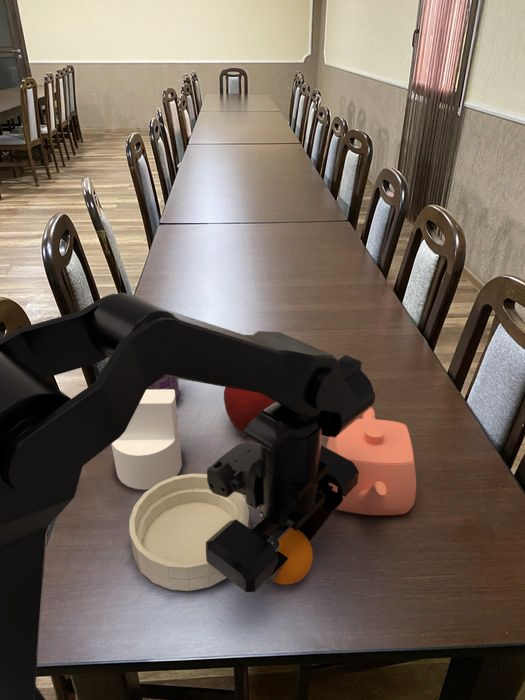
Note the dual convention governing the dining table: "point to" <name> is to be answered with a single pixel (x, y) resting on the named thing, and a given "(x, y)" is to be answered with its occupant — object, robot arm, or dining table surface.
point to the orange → (294, 557)
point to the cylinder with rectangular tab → (150, 442)
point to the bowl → (181, 530)
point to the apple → (244, 406)
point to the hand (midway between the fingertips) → (285, 562)
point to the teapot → (377, 466)
